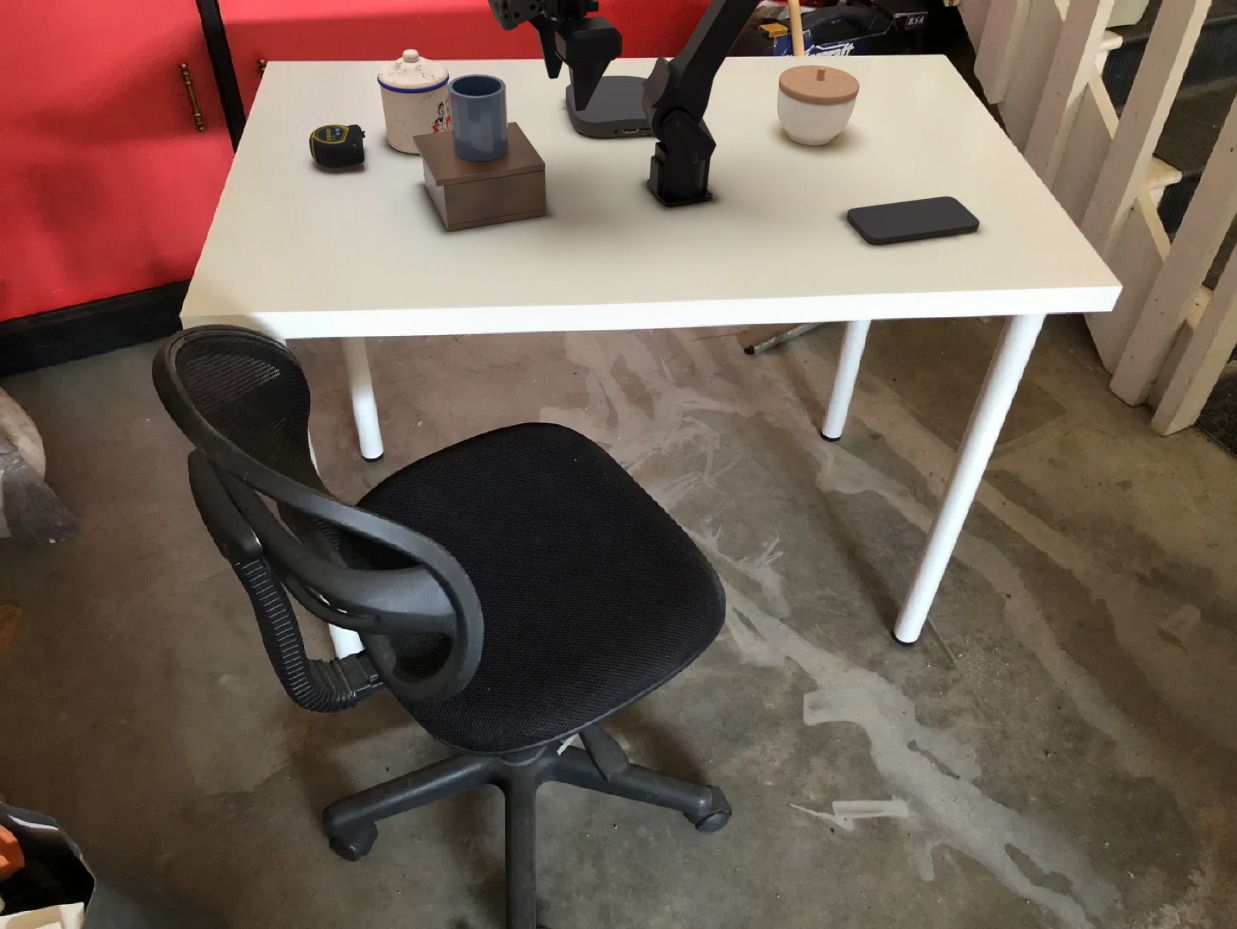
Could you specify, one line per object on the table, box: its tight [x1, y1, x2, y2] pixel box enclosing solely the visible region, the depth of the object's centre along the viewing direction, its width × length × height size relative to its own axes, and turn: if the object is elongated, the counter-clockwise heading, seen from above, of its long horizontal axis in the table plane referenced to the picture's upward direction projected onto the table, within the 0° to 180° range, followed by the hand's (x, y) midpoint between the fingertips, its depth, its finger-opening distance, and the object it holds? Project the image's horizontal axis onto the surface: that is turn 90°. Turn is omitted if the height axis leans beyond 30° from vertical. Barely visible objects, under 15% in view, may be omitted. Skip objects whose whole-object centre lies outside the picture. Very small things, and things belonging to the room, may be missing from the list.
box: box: [421, 158, 547, 232], centre depth 113 cm, size 12×12×6 cm
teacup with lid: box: [376, 48, 452, 155], centre depth 123 cm, size 12×9×12 cm
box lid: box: [413, 121, 546, 187], centre depth 110 cm, size 13×12×1 cm
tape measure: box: [308, 123, 366, 169], centre depth 119 cm, size 7×7×4 cm
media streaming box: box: [565, 75, 654, 137], centre depth 132 cm, size 15×15×3 cm
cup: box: [448, 73, 509, 162], centre depth 108 cm, size 6×6×8 cm
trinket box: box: [776, 64, 860, 147], centre depth 128 cm, size 11×11×9 cm
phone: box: [846, 195, 981, 245], centre depth 114 cm, size 7×1×15 cm
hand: (566, 93), depth 107 cm, fingers open, 9 cm apart
